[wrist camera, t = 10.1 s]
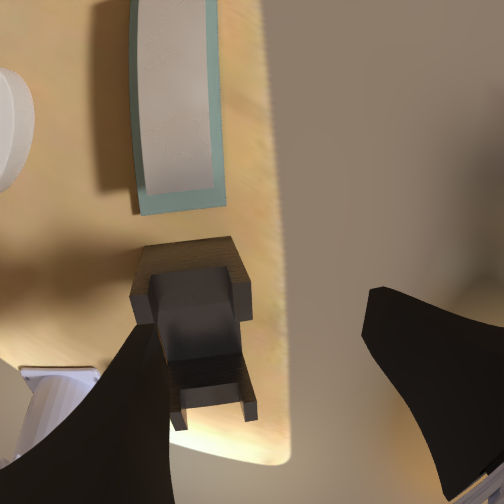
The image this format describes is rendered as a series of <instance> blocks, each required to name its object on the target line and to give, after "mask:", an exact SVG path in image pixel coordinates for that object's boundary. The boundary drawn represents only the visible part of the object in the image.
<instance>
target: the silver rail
mask: <svg viewBox="0 0 504 504" xmlns="http://www.w3.org/2000/svg"><path fill="white" fill-rule="evenodd" d="M137 66H138V100H139V118H140V133H141V145H142V156H143V166H144V175H145V184H146V192H147V196H150V195H157V194H165V193H173V192H181V191H190V190H199V189H208V188H214V184H213V169H212V154H211V138H210V120H209V101H208V78H207V50H206V6H205V0H139V7H138V38H137Z"/></svg>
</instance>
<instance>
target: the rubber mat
mask: <svg viewBox="0 0 504 504" xmlns="http://www.w3.org/2000/svg"><path fill="white" fill-rule="evenodd" d="M205 6H206V50H207V78H208V101H209V120H210V138H211V154H212V169H213V184H214V188H208V189H199V190H190V191H181V192H173V193H165V194H157V195H150V196H147V192H146V184H145V175H144V166H143V156H142V145H141V133H140V118H139V100H138V66H137V38H138V7H139V0H131V2H130V20H129V97H130V117H131V132H132V144H133V155H134V165H135V174H136V183H137V191H138V199H139V206H140V213H141V216H146V215H153V214H161V213H169V212H177V211H186V210H194V209H203V208H213V207H222V206H226V190H225V174H224V157H223V139H222V120H221V99H220V75H219V48H218V14H217V0H205Z"/></svg>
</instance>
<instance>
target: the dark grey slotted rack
mask: <svg viewBox="0 0 504 504" xmlns="http://www.w3.org/2000/svg"><path fill="white" fill-rule="evenodd" d="M129 297H130V301H131V305H132V308H133V312H134V315H135V319H136V322H137V325H141V324H151V323H155V324H156V328H157V325H158V329H159V332H160V336H161V340H162V344H163V347H164V351H165V354H166V358H167V361H168V366H167V367H168V371H169V384H170V419H171V422H172V424H173V427H174V429H175V431H181V430H188V425H187V414H186V409H188V408H197V407H206V406H213V405H220V404H227V403H234V402H240V404H241V408H242V412H243V416H244V420H245V422H249V421H254V420H258V415H257V400H256V397H255V394H254V390H253V387H252V384H251V380H250V377H249V374H248V370H247V367H246V364H245V360H244V357H243V353H242V345H241V333H240V322H242V321H248V320H253V315H252V294H251V280H250V278H249V276H248V274H247V271H246V269H245V267H244V265H243V262H242V260H241V258H240V256H239V253H238V251H237V249H236V247H235V244H234V242H233V240H232V238H231V236H227V237H218V238H209V239H201V240H192V241H184V242H175V243H167V244H159V245H151V246H144V249H143V252H142V255H141V258H140V262H139V265H138V268H137V271H136V275H135V278H134V281H133V285H132V288H131V292H130V295H129Z"/></svg>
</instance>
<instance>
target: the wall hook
mask: <svg viewBox="0 0 504 504" xmlns="http://www.w3.org/2000/svg"><path fill="white" fill-rule="evenodd" d="M33 133H34V105H33V100H32V96H31V93H30V90H29V88H28V86H27V84H26V83H25V81H24V80H23V79H22V78H21V77H20V76H19V75H18V74H17V73H15V72H14V71H11V70H8V69H5V68H1V67H0V194H1V193H2V192H4V191H5V190H6V189H7V188H9V187H10V186H11V184H12V183H13V182H14V181H15V180H16V178H17V177H18V175H19V174H20V172H21V170H22V168H23V166H24V164H25V162H26V160H27V157H28V154H29V151H30V148H31V144H32V139H33Z"/></svg>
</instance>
